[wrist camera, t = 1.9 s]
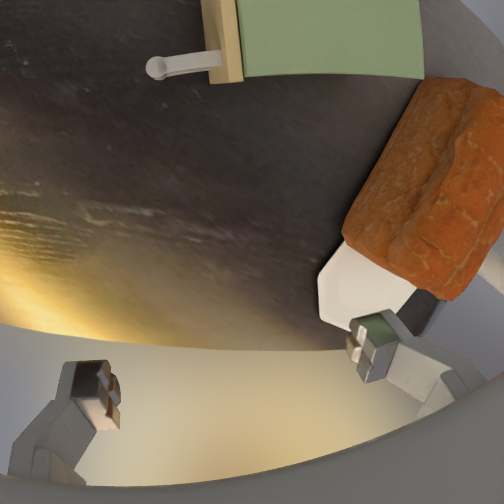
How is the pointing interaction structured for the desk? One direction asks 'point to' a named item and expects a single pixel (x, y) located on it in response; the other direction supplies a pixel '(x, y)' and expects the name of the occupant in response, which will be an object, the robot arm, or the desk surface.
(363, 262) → the plate
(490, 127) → the bread
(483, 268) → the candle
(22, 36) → the desk surface
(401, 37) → the cabinet
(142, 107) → the desk surface
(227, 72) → the pull-out drawer
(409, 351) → the robot arm
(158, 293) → the desk surface
